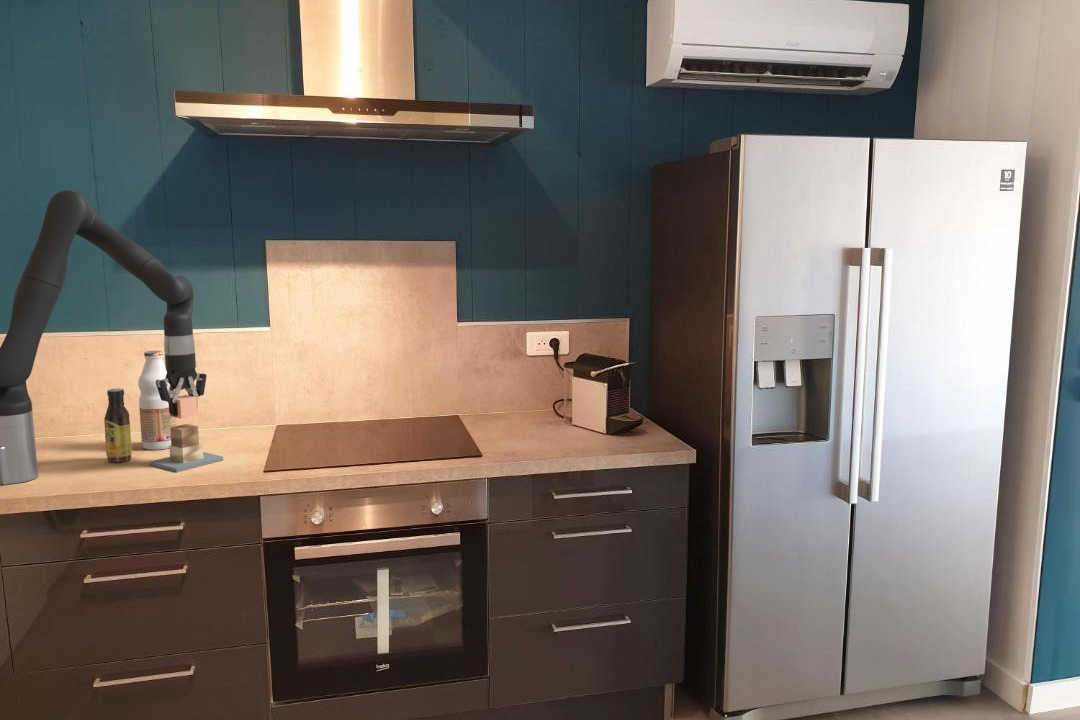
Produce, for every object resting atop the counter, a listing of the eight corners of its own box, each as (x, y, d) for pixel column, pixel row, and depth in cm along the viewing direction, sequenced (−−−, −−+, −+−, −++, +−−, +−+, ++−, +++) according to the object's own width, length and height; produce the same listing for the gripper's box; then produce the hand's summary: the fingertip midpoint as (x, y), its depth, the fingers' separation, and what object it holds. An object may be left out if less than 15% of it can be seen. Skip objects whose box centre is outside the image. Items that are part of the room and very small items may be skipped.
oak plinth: (183, 463, 222) (182, 448, 221) (170, 459, 225) (169, 445, 225) (203, 458, 227) (202, 443, 226) (190, 454, 230) (189, 440, 230)
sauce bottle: (103, 460, 228) (98, 389, 225) (127, 456, 233) (122, 386, 230) (111, 465, 224) (106, 392, 221) (136, 460, 228) (131, 389, 225)
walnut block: (182, 448, 222) (181, 429, 221) (171, 445, 225) (170, 427, 224) (199, 444, 226) (198, 426, 225) (188, 441, 229) (186, 423, 228)
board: (176, 472, 217) (176, 468, 217) (150, 465, 224) (149, 461, 224) (223, 460, 229) (223, 456, 229) (196, 453, 235) (196, 450, 235)
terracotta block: (181, 418, 221) (180, 400, 220) (170, 416, 224) (168, 398, 223) (198, 415, 225) (196, 397, 224) (186, 412, 228) (185, 395, 227)
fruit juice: (140, 451, 237) (133, 354, 233) (143, 443, 246) (137, 350, 242) (176, 448, 240) (170, 352, 236) (178, 441, 249) (172, 348, 245)
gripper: (163, 356, 214) (167, 421, 216) (212, 349, 226) (215, 411, 228) (146, 353, 218) (151, 417, 220) (195, 347, 230) (199, 407, 232)
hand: (184, 413), depth 224 cm, fingers closed on terracotta block, 5 cm apart
